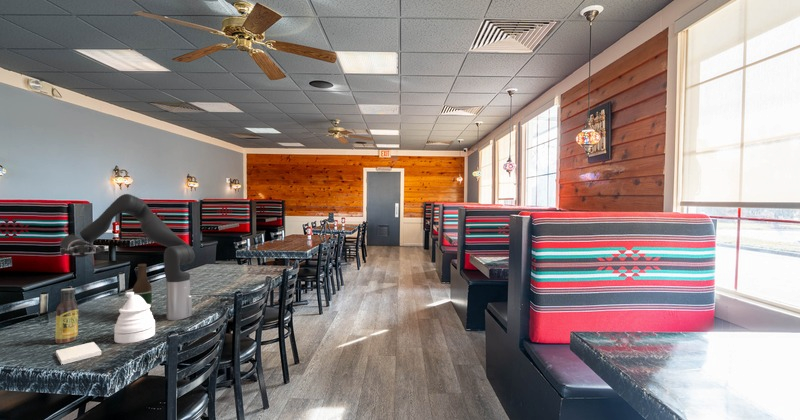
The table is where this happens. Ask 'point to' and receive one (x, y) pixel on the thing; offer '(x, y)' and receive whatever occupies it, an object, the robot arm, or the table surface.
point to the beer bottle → (143, 285)
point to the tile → (78, 353)
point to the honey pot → (134, 321)
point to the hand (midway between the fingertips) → (85, 251)
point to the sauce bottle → (66, 317)
